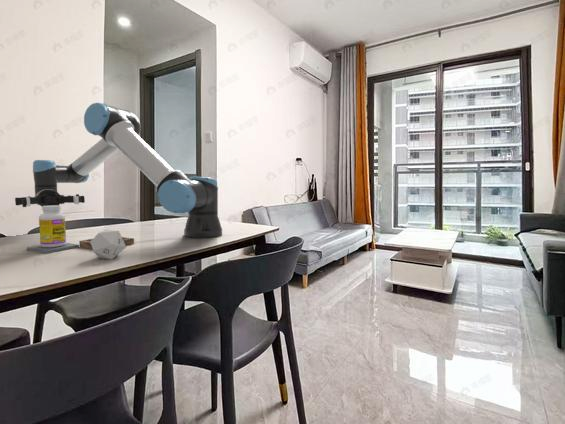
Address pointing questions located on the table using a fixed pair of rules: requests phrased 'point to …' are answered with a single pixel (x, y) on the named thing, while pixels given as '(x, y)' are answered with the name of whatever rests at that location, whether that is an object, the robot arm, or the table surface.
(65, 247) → the slate coaster
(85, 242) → the walnut frame
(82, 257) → the table surface
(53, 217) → the supplement bottle
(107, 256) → the die
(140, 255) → the table surface
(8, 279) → the table surface
